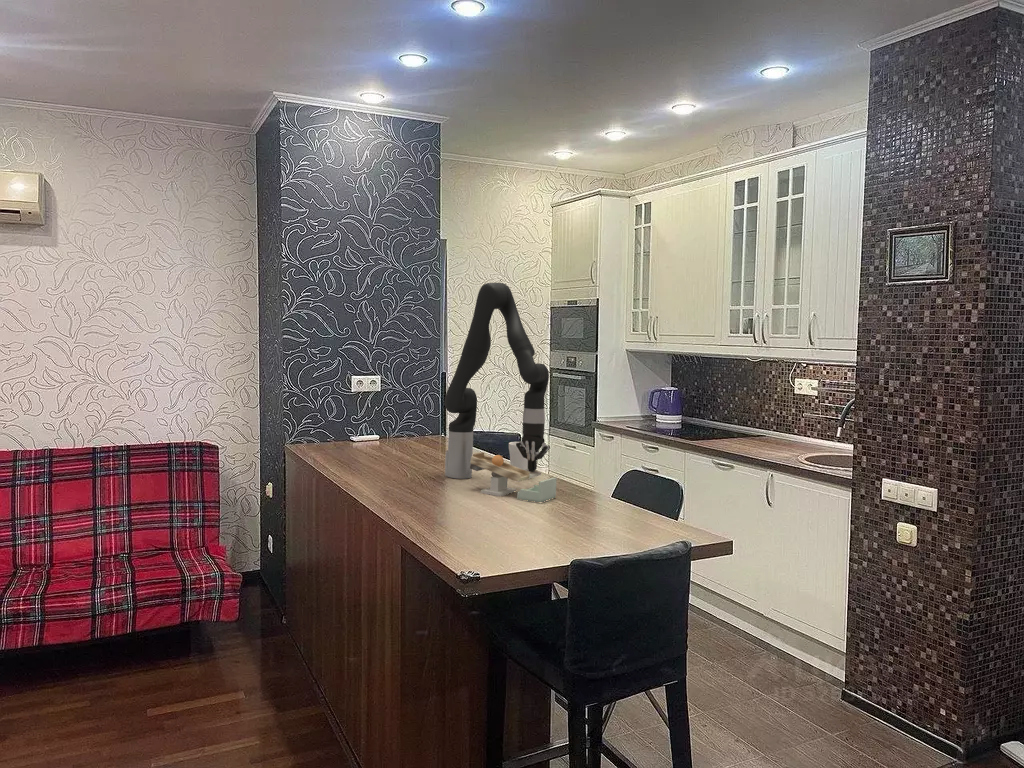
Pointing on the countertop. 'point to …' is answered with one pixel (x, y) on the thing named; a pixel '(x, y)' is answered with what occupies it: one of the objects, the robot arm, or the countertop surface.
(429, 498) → the countertop surface
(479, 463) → the board
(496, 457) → the ball
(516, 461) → the foam cup
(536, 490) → the bin
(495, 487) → the lever stand
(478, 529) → the countertop surface
